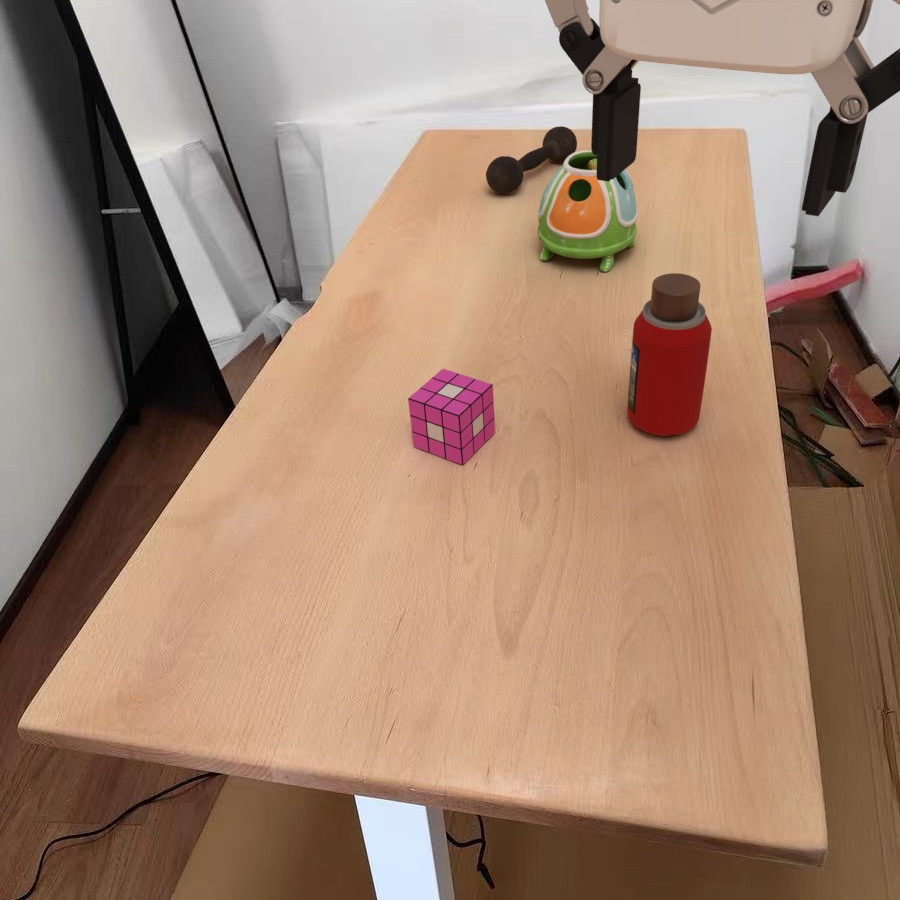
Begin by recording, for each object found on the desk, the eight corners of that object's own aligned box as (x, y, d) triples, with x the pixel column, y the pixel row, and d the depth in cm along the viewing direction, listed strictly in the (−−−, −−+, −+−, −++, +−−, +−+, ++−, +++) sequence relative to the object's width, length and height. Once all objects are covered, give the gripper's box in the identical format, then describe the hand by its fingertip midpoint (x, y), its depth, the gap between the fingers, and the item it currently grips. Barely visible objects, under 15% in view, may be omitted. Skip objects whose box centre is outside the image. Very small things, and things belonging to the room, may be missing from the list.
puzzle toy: (412, 447, 82) (407, 398, 78) (446, 415, 86) (442, 367, 82) (462, 466, 79) (459, 416, 76) (495, 433, 83) (493, 383, 79)
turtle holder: (650, 219, 118) (657, 130, 111) (622, 279, 105) (628, 184, 98) (562, 211, 122) (563, 125, 114) (524, 269, 109) (523, 176, 101)
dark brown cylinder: (704, 304, 76) (707, 278, 74) (687, 325, 73) (690, 299, 71) (660, 294, 77) (663, 269, 76) (642, 314, 75) (644, 289, 73)
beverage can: (653, 391, 86) (663, 284, 79) (712, 418, 82) (729, 306, 75) (612, 422, 83) (618, 313, 75) (672, 451, 79) (685, 338, 71)
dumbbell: (555, 154, 140) (553, 120, 137) (584, 158, 137) (582, 123, 134) (480, 197, 128) (476, 161, 125) (510, 201, 125) (506, 164, 122)
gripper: (499, -272, 31) (510, 187, 42) (1053, -329, 23) (893, 255, 34) (591, -276, 36) (580, 137, 47) (1077, -325, 28) (930, 187, 39)
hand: (712, 186), depth 40 cm, fingers open, 9 cm apart
